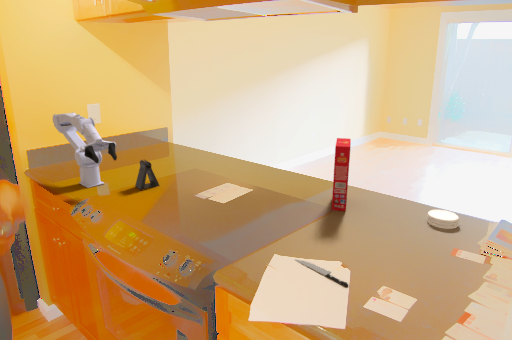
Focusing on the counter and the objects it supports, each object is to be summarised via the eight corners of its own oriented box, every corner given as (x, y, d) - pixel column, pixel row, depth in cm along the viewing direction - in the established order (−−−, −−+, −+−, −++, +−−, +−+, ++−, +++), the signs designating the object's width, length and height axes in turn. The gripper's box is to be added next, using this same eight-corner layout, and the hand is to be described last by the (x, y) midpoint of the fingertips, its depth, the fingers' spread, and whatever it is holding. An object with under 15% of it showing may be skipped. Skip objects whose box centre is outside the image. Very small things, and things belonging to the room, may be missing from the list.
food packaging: (345, 211, 142) (350, 146, 135) (331, 210, 143) (335, 146, 136) (346, 197, 156) (350, 138, 149) (333, 196, 157) (337, 138, 150)
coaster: (456, 232, 125) (457, 222, 124) (424, 225, 130) (425, 216, 129) (459, 222, 133) (460, 212, 132) (428, 215, 138) (430, 207, 137)
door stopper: (140, 190, 165) (137, 164, 162) (135, 186, 169) (132, 161, 166) (159, 186, 170) (157, 160, 167) (154, 182, 175) (152, 157, 171)
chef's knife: (298, 257, 110) (291, 259, 108) (298, 253, 110) (291, 256, 108) (353, 284, 97) (346, 288, 95) (354, 280, 96) (347, 284, 94)
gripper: (77, 133, 153) (90, 155, 148) (111, 129, 163) (125, 150, 158) (75, 146, 158) (88, 168, 152) (108, 141, 167) (122, 162, 162)
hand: (106, 160), depth 155 cm, fingers open, 7 cm apart
